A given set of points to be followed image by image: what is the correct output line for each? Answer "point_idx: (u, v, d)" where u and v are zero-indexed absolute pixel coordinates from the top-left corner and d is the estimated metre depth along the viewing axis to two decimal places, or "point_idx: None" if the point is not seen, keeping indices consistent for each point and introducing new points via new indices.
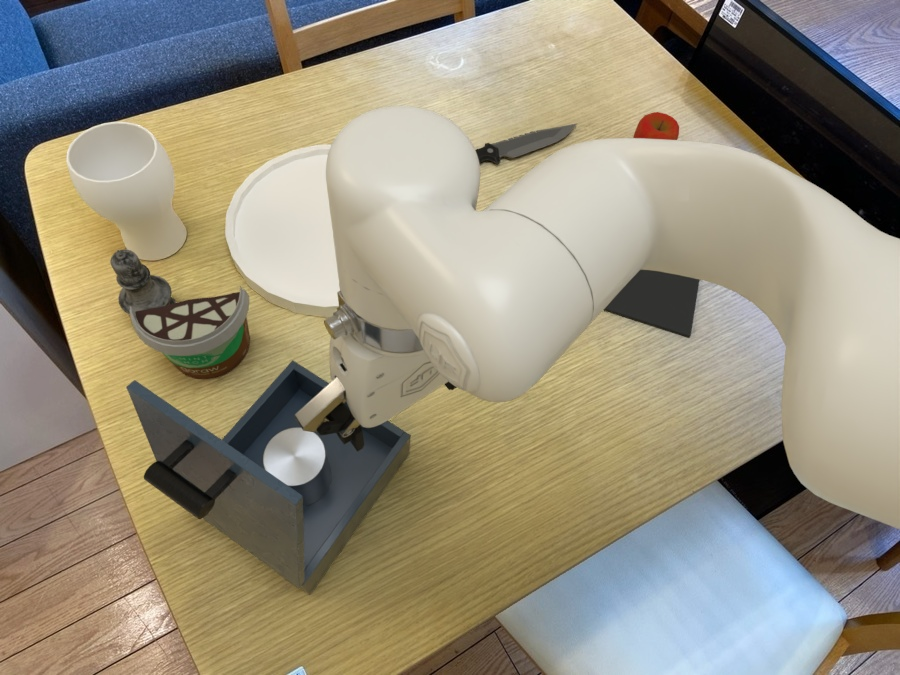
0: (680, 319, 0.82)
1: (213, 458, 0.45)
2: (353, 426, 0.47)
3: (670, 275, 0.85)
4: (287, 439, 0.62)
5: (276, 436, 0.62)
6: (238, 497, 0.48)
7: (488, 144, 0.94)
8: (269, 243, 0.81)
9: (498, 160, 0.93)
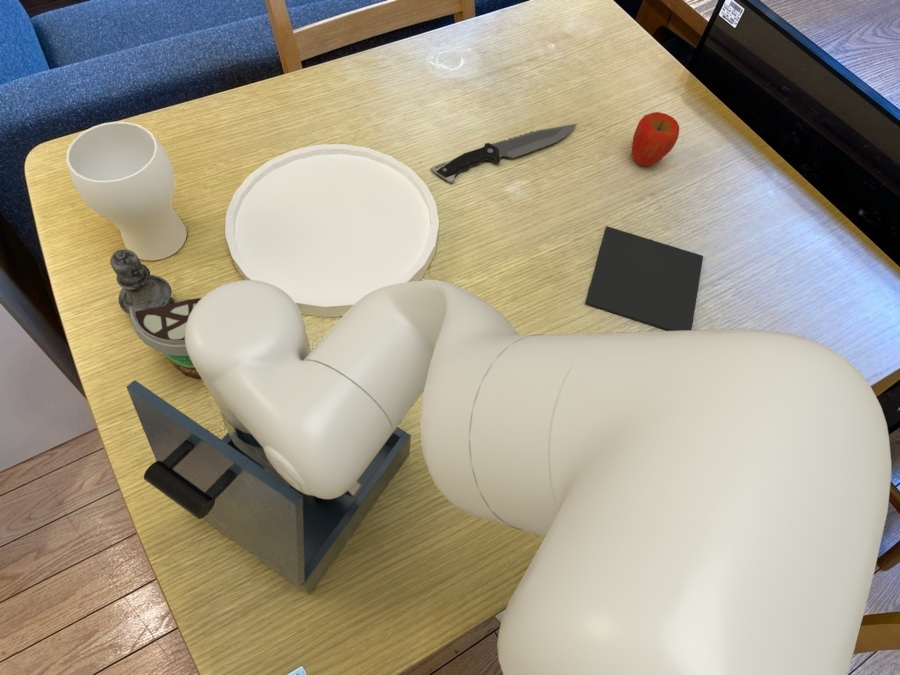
0: (680, 319, 0.82)
1: (213, 458, 0.45)
2: None
3: (670, 275, 0.85)
4: None
5: None
6: (238, 497, 0.48)
7: (488, 144, 0.94)
8: (269, 243, 0.81)
9: (498, 160, 0.93)
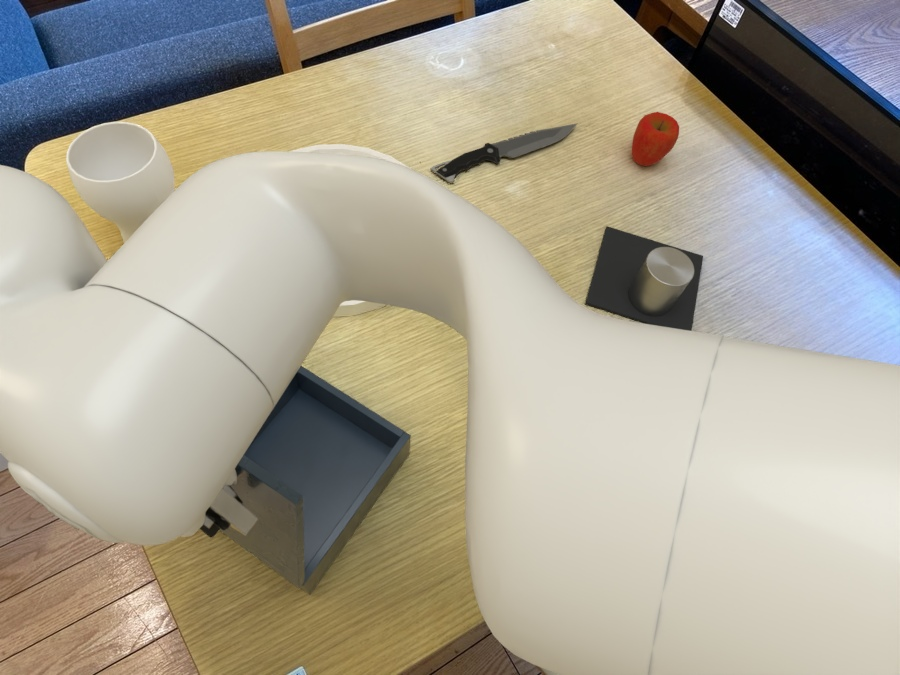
0: (680, 319, 0.82)
1: None
2: None
3: None
4: (661, 254, 0.78)
5: (652, 252, 0.78)
6: None
7: (488, 144, 0.94)
8: None
9: (498, 160, 0.93)
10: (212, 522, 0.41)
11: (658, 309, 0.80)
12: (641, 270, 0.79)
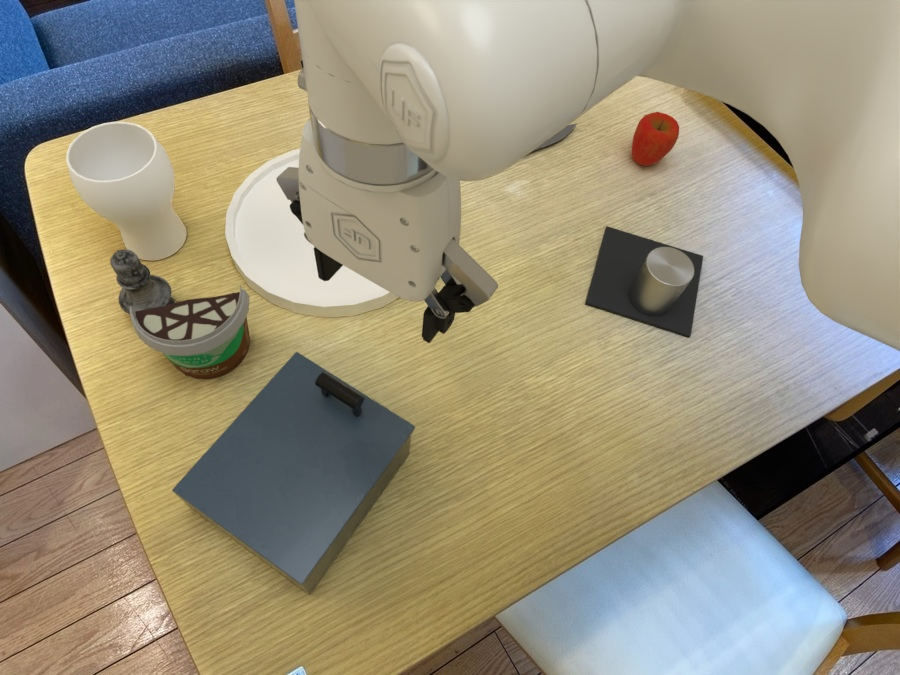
0: (680, 319, 0.82)
1: None
2: None
3: None
4: (661, 254, 0.78)
5: (652, 252, 0.78)
6: (334, 444, 0.63)
7: None
8: (269, 243, 0.81)
9: None
10: (447, 309, 0.43)
11: (658, 309, 0.80)
12: (641, 270, 0.79)
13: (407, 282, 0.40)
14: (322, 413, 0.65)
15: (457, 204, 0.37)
